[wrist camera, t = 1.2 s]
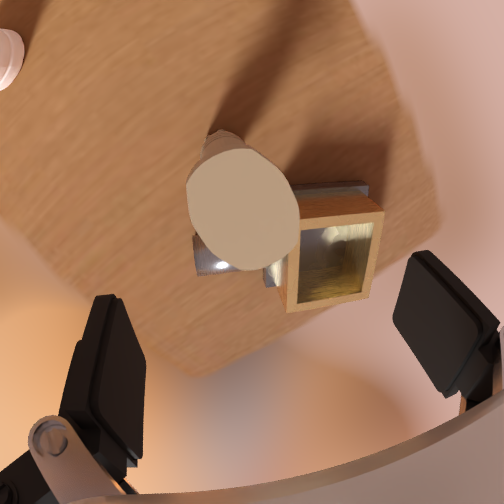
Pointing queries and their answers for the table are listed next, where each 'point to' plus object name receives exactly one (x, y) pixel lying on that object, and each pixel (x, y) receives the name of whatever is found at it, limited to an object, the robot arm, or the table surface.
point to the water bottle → (10, 56)
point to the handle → (241, 204)
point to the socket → (320, 248)
